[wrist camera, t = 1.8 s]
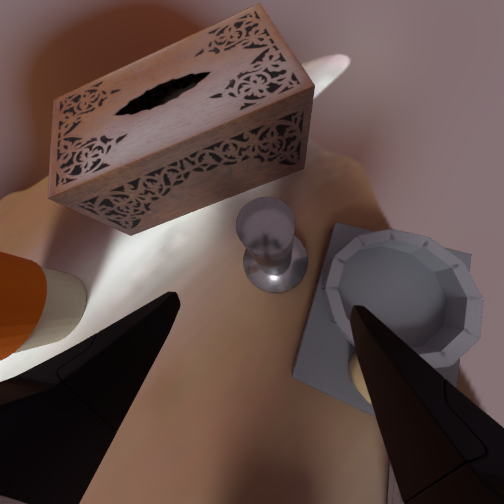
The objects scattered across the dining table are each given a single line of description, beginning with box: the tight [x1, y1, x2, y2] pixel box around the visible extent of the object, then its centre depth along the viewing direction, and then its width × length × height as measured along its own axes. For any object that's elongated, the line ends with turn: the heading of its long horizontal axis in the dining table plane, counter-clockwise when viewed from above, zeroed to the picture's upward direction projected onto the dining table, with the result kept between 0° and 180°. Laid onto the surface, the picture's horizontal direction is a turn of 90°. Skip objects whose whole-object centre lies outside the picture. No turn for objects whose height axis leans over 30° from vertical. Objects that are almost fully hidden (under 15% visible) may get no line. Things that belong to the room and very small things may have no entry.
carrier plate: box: [292, 222, 483, 417], centre depth 17 cm, size 16×12×4 cm
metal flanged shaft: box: [236, 197, 308, 293], centre depth 16 cm, size 7×7×11 cm
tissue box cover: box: [48, 3, 315, 236], centre depth 23 cm, size 26×14×10 cm, turn 108°
